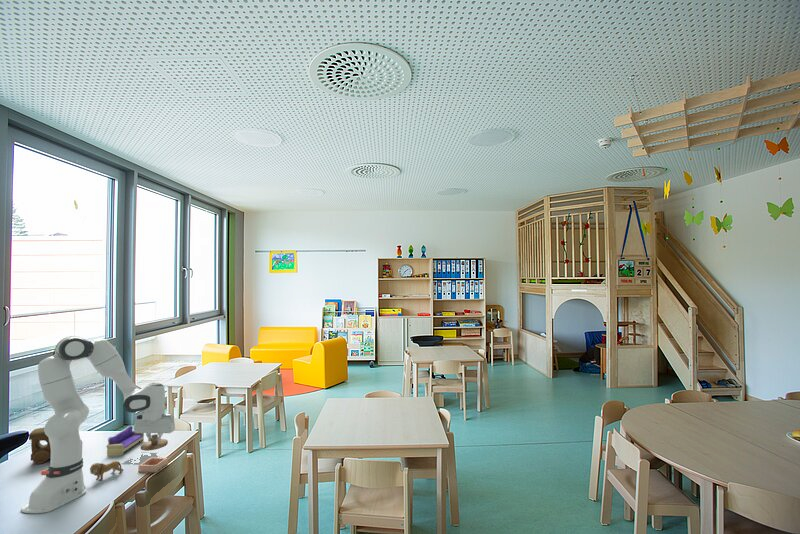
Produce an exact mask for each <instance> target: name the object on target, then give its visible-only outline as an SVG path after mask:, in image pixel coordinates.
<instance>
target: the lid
mask: <svg viewBox="0 0 800 534" xmlns="http://www.w3.org/2000/svg"><path fill="white" fill-rule="evenodd" d="M158 436H159V435H158V433H153V434H151V441H148V440H147V441H146V442H144V443H143V442H142V444H141V445H140V450H141V451H144V452H145V451H147V452H148V451H156V450H160V449H162V448H165V447H166V446H167V445H168V443H169V442H168V439H165V438H161V440H160V441H159V442H158V441H156V438H157V437H158Z"/></svg>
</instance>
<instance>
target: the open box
mask: <svg viewBox="0 0 800 534" xmlns="http://www.w3.org/2000/svg"><path fill="white" fill-rule="evenodd" d="M168 461H169V459H168V457H158V458H154V457H151V458H149V459H148V460H146V461H145V462H143V463H142V464H140V465H137V467H138V470H137V471H138V473H150V474H151V473H153V474H154V473H155V474H156V473H157V472H159V471H160V470H161V469H163V468H164V467H166V466H168ZM159 469H160V470H159ZM158 470H159V471H158Z"/></svg>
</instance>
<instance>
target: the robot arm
mask: <svg viewBox="0 0 800 534" xmlns="http://www.w3.org/2000/svg"><path fill="white" fill-rule="evenodd" d="M84 358H86V359H87V360H88V361H89V362H90V363H91V364H92V366H93V368H94V369H95V370H96V372H97V373H99V374H100V375H101V376H102V377H103V378H108V379H111V380H112V381H113V382H114V383H115V384H116V386H117V387H118V388H119V390H120V391H121V393H122V396H123V397H122V398H123V405H122V406H123V409H124V410H125V411H126V412H127V413H131V414H134V413H138V412H140V413H138V414H135V416H134V418H135V420H134V424H133V431H135V433H144V434H145V436H146V437H147V442H148V441H151V436H152V434H158V437H157V438H156V441H158V442H159V441H160V440H161V439H162V436H163V435H164V434H171V433H173V432H174V431H175V430H176V424H175V423H176V422H175V416H173V415H172V414H169V413H167V414H166V405H165V400H166V391H165V389H166V388H165V385H164V384H162V383H159V382H150V383H148V384H146V385H145V386H143V387H140V386H138V385H136V384H135V382H134V380H132V378H131V377H130V375H129V374H128V372H127V369H126V366H125V364H124V361H123V358H122V356H121V355H120V354H119V352H118V350H117V349H116V348H115V346H114V345H113V344H111V343H110V342H109V341H108V339H106V338H98V339H94V340H92V341H89V340H88V339H85V338H82V337H80V336H76V335H73V336H72V335H71V336H66V337H64V338H62V339H60V341H59V342H57V344H56V345H55V349H54V351H53V353H52V355H51V356H48V357H45V358H44V359H42V360H41V361H39V363H38V365H37V373H38V380H39V381H38V382H39V385H40V388H41V391H42V394H43V397H44V401H45V402H46V403H47V404H48V405H49V406H50V407H51V408H52V409H53V412H54V414H53V415H51V417H49V419H48V420H47V421H46V424H45V425H44V426H43V427H44V432H45V434H46V436H48V438H49V442H50V447H51V457H50V465H48V468H47V469H42V470H41V472H40V475H41V476H45V477H44V478H43V479H42V481H40V483H39V484H38V485H37V486H36V487H35V488H34V489H33V491H31V494H30V496H29V499H28V502H27V503H26V504H24V505H23V506H22V507H21V508H20V511H21V513H26V514H42V513H50V512H52V511H54V510H56V509H58V508H60V507H62V506H63V505H66V504H67V503H70V502H72V501H73V500H75V499H77V498H80V497H81V496H83V495H85V494H86V493H87V491H86V485H85V481H84V473H83V467H84V458H83V440H82V439H81V437H80V430H79V429H80V426H81V425H82V424H83V423H84V422H85V421H86V420H87V419H88V416H89V413H90V408H89V406H88V405H87V404H85V403H84V401H83V399H82V398H81V396H80V395H79V393H78V391H77V387H76V385H75V382H74V381H75V380H74V378H73V374H72V371H71V367H70V366H71V363H72V361H77V360H81V359H84Z"/></svg>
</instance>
